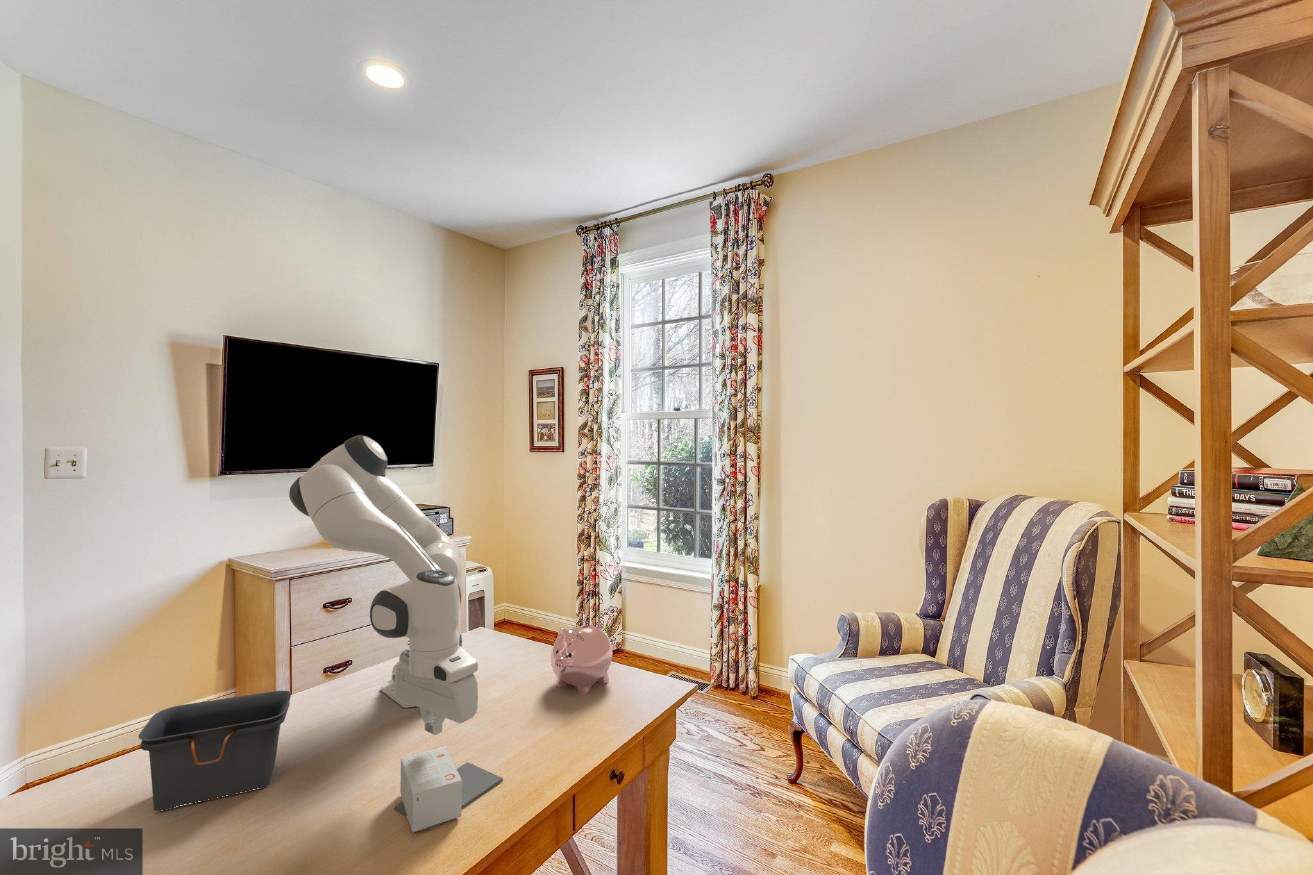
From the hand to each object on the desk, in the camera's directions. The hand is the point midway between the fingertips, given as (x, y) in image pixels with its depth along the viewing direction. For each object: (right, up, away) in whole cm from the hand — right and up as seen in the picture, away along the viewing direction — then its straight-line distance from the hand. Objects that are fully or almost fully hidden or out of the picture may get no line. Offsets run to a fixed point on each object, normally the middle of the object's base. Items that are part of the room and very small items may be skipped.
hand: (433, 731), depth 104 cm
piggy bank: (+22, -11, +44) cm, 50 cm away
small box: (-2, -7, 0) cm, 7 cm away
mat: (+4, -10, -3) cm, 11 cm away
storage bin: (-39, -10, -2) cm, 40 cm away
